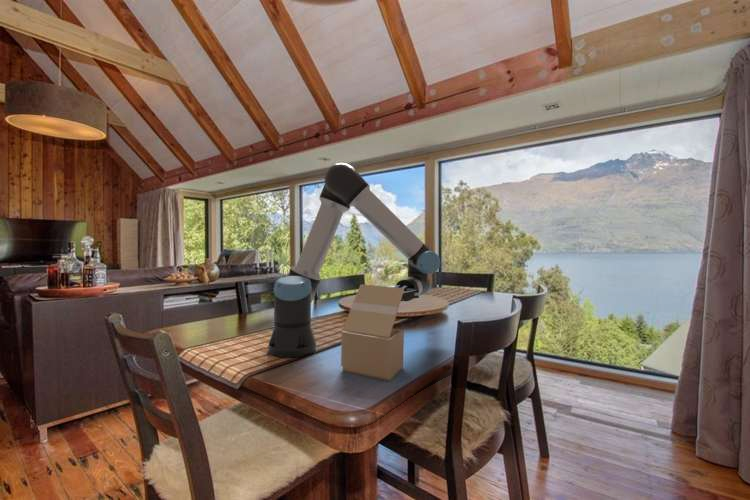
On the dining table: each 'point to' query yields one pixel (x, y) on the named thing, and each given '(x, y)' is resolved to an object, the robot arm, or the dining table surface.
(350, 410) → the dining table surface
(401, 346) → the carton
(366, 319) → the flap
